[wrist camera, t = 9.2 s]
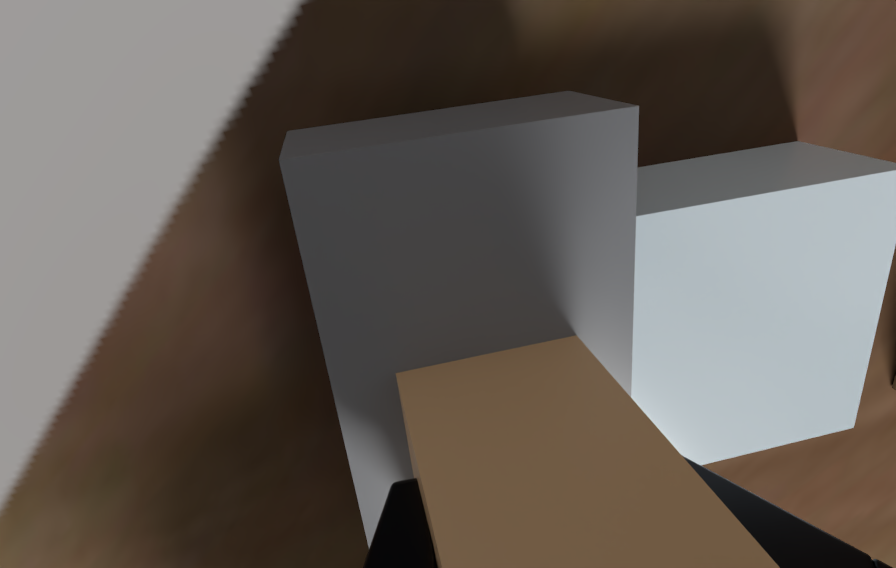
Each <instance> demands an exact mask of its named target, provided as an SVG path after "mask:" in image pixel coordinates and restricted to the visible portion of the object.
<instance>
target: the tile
mask: <svg viewBox="0 0 896 568" xmlns="http://www.w3.org/2000/svg"><path fill="white" fill-rule="evenodd" d="M895 245H896V163H894V162H889V161H885V160H880V159H876V158H871V157H867V156H862V155H858V154H853V153H849V152H844V151H840V150H835V149H831V148H826V147H822V146H817V145H813V144H809V143H804V142H800V141H795V142H789V143H783V144H777V145H771V146H765V147H759V148H753V149H747V150H741V151H735V152H729V153H722V154H716V155H710V156H704V157H698V158H692V159H686V160H680V161H674V162H668V163H662V164H656V165H650V166H644V167H638V168H637V202H636V238H635V275H634V311H633V347H632V384H631V398H632V399H633V400H634V402H635V403H636V404H637V405H638V406H639V407H640V408H641V410H642V411H643V412H644V413H645V414H646V415H647V416H648V418H649V419H650V420H651V421H652V422H653V423H654V424H655V426H656V427H657V428H658V429H659V430H660V431H661V432H662V434H663V435H664V436H665V437H666V438H667V439H668V440H669V442H670V443H671V444H672V445H673V446H674V447H675V448H676V450H677V451H678V452H679V453H680V454H681V455H682V456H684V457H686V458H688V459H690V460H692V461H693V462H695V463H697V464H699V465H704V464H708V463H712V462H716V461H720V460H724V459H728V458H733V457H737V456H741V455H745V454H749V453H753V452H757V451H761V450H765V449H769V448H773V447H777V446H781V445H785V444H789V443H793V442H797V441H802V440H806V439H810V438H814V437H818V436H822V435H826V434H830V433H834V432H838V431H842V430H846V429H850V428H854V424H855V420H856V416H857V411H858V407H859V402H860V398H861V394H862V389H863V385H864V381H865V376H866V372H867V367H868V363H869V359H870V354H871V350H872V346H873V341H874V337H875V333H876V328H877V324H878V319H879V315H880V311H881V306H882V302H883V298H884V293H885V289H886V285H887V280H888V276H889V271H890V267H891V263H892V258H893V254H894V250H895Z"/></svg>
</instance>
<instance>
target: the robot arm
mask: <svg viewBox="0 0 896 568" xmlns="http://www.w3.org/2000/svg"><path fill="white" fill-rule="evenodd" d="M683 458H684V459H685V460H686V461H687V462H688V463H689V464H690V466H691V467H692V468H693V469H694V470H695V471H696V472H697V474H698V475H699V476H700V477H701V478H702V479H703V480H704V482H705V483H706V484H707V485H708V486H709V487H710V488H711V490H712V491H713V492H714V493H715V494H716V495H717V496H718V498H719V499H720V500H721V501H722V502H723V503H724V504H725V506H726V507H727V508H728V509H729V510H730V511H731V512H732V514H733V515H734V516H735V517H736V518H737V519H738V520H739V522H740V523H741V524H742V525H743V526H744V527H745V528H746V530H747V531H748V532H749V533H750V534H751V535H752V536H753V538H754V539H755V540H756V541H757V542H758V543H759V544H760V546H761V547H762V548H763V549H764V550H765V551H766V552H767V554H768V555H769V556H770V557H771V558H772V559H773V560H774V562H775V563H776V564H777V565H778V566H779V567H780V568H892V567H891V566H889V565H887V564H885V563H883V562H881V561H879V560H877V559H873V560H872V559H871V557H870V556H869V555H868V554H866V553H864V552H862V551H860V550H858V549H856V548H855V547H853V546H851V545H849V544H847V543H845V542H843V541H841V540H840V539H838V538H836V537H834V536H832V535H830V534H828V533H826V532H825V531H823V530H821V529H819V528H817V527H815V526H813V525H811V524H810V523H808V522H806V521H804V520H802V519H800V518H798V517H796V516H795V515H793V514H791V513H789V512H787V511H785V510H783V509H781V508H780V507H778V506H776V505H774V504H772V503H770V502H768V501H766V500H765V499H763V498H761V497H759V496H757V495H755V494H753V493H751V492H750V491H748V490H746V489H744V488H742V487H740V486H738V485H736V484H735V483H733V482H731V481H729V480H727V479H725V478H723V477H722V476H720V475H718V474H716V473H714V472H712V471H710V470H708V469H707V468H705V467H703V466H701V465H699V464H697V463H695V462H693V461H692V460H690V459H688V458H686V457H684V456H683ZM363 568H437V566H436V559H435V553H434V547H433V542H432V538H431V534H430V530H429V526H428V522H427V518H426V513H425V509H424V505H423V501H422V497H421V493H420V489H419V485H418V481H417V478H411V479H406V480H401V481H397V482H394V483H393V484H392V485H391V487H390V490H389V493H388V495H387V498H386V501H385V504H384V507H383V510H382V513H381V516H380V519H379V522H378V525H377V528H376V530H375V533H374V536H373V539H372V542H371V545H370V548H369V551H368V554H367V557H366V560H365V563H364V565H363Z"/></svg>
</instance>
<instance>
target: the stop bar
mask: <svg viewBox="0 0 896 568" xmlns="http://www.w3.org/2000/svg"><path fill="white" fill-rule="evenodd" d="M892 388H893V389H895V390H896V375H895V379H894V382H893V386H892Z"/></svg>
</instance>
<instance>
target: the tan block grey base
mask: <svg viewBox="0 0 896 568" xmlns="http://www.w3.org/2000/svg"><path fill="white" fill-rule="evenodd" d="M638 129H639V106H638V105H633V104H629V103H624V102H619V101H615V100H610V99H605V98H601V97H596V96H591V95H587V94H582V93H578V92H573V91H563V92H556V93H549V94H542V95H535V96H528V97H521V98H514V99H507V100H500V101H493V102H486V103H479V104H472V105H465V106H458V107H451V108H444V109H437V110H430V111H423V112H416V113H409V114H402V115H395V116H388V117H382V118H375V119H368V120H361V121H354V122H347V123H340V124H333V125H326V126H319V127H312V128H305V129H298V130H291V131H287V133H286V136H285V140H284V143H283V147H282V150H281V154H280V157H279V164H280V168H281V172H282V176H283V181H284V185H285V189H286V194H287V198H288V202H289V207H290V211H291V215H292V219H293V224H294V228H295V232H296V237H297V241H298V245H299V250H300V254H301V258H302V263H303V267H304V271H305V275H306V280H307V284H308V288H309V293H310V297H311V301H312V306H313V310H314V314H315V318H316V323H317V327H318V331H319V336H320V340H321V344H322V349H323V353H324V357H325V362H326V366H327V370H328V374H329V379H330V383H331V387H332V392H333V396H334V400H335V405H336V409H337V413H338V417H339V422H340V426H341V430H342V435H343V439H344V443H345V448H346V452H347V456H348V461H349V465H350V469H351V473H352V478H353V482H354V486H355V491H356V495H357V499H358V504H359V508H360V512H361V516H362V521H363V525H364V529H365V534H366V538H367V542H368V547H369V548H370V545H371V542H372V539H373V536H374V533H375V530H376V528H377V525H378V522H379V519H380V516H381V513H382V510H383V507H384V504H385V501H386V498H387V495H388V493H389V490H390V487H391V485H392V484H393V483H394V482H397V481H401V480H406V479H411V478H417V481H418V485H419V489H420V493H421V497H422V501H423V505H424V509H425V513H426V518H427V522H428V526H429V530H430V534H431V538H432V542H433V547H434V553H435V559H436V566H437V568H780V567H779V566H778V565H777V564H776V563H775V562H774V560H773V559H772V558H771V557H770V556H769V555H768V554H767V552H766V551H765V550H764V549H763V548H762V547H761V546H760V544H759V543H758V542H757V541H756V540H755V539H754V538H753V536H752V535H751V534H750V533H749V532H748V531H747V530H746V528H745V527H744V526H743V525H742V524H741V523H740V522H739V520H738V519H737V518H736V517H735V516H734V515H733V514H732V512H731V511H730V510H729V509H728V508H727V507H726V506H725V504H724V503H723V502H722V501H721V500H720V499H719V498H718V496H717V495H716V494H715V493H714V492H713V491H712V490H711V488H710V487H709V486H708V485H707V484H706V483H705V482H704V480H703V479H702V478H701V477H700V476H699V475H698V474H697V472H696V471H695V470H694V469H693V468H692V467H691V466H690V464H689V463H688V462H687V461H686V460H685V459H684V458H683V456H682V455H681V454H680V453H679V452H678V451H677V450H676V448H675V447H674V446H673V445H672V444H671V443H670V442H669V440H668V439H667V438H666V437H665V436H664V435H663V434H662V432H661V431H660V430H659V429H658V428H657V427H656V426H655V424H654V423H653V422H652V421H651V420H650V419H649V418H648V416H647V415H646V414H645V413H644V412H643V411H642V410H641V408H640V407H639V406H638V405H637V404H636V403H635V402H634V400H633V399H632V398H631V384H632V347H633V311H634V275H635V238H636V202H637V165H638Z"/></svg>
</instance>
